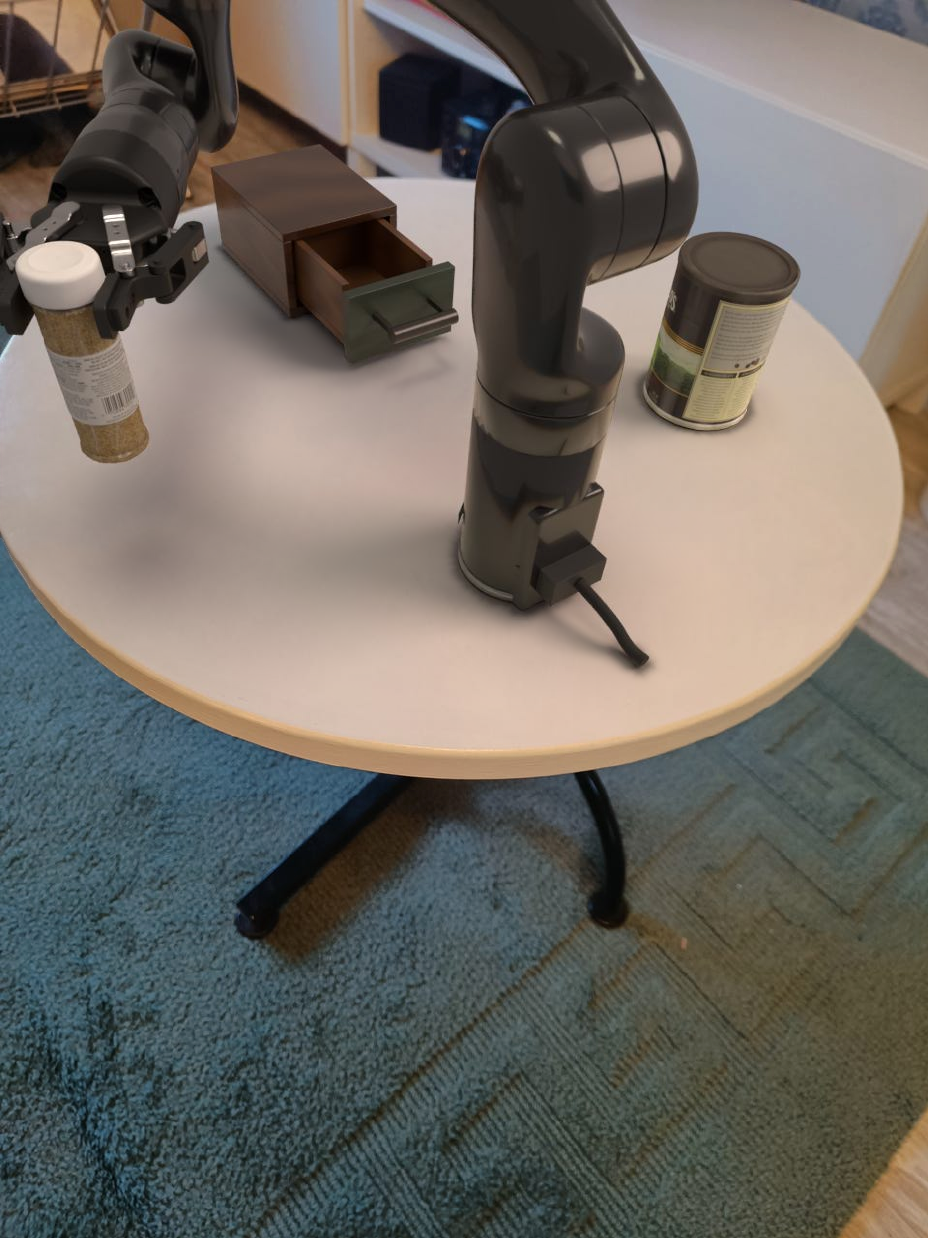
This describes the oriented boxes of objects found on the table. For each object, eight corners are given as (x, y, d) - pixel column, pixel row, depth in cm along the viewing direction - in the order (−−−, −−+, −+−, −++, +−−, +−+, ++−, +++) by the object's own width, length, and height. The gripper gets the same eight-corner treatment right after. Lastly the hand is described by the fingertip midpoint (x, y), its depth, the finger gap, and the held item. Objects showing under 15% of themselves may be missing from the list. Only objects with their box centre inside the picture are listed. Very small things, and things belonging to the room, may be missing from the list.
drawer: (475, 352, 85) (481, 287, 80) (374, 387, 80) (373, 321, 75) (375, 265, 94) (374, 201, 89) (279, 292, 90) (272, 226, 84)
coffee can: (627, 409, 82) (664, 269, 72) (660, 355, 89) (698, 219, 78) (732, 445, 80) (786, 305, 69) (759, 387, 86) (812, 251, 75)
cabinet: (396, 286, 94) (397, 204, 87) (290, 318, 88) (282, 233, 82) (324, 222, 101) (319, 143, 95) (222, 248, 96) (210, 166, 89)
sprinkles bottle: (132, 416, 61) (78, 229, 51) (162, 450, 59) (112, 263, 49) (69, 440, 59) (-1, 251, 49) (98, 476, 57) (32, 287, 47)
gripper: (-1, 120, 56) (-105, 253, 46) (222, 133, 57) (171, 266, 46) (36, 232, 62) (-49, 374, 51) (237, 242, 63) (196, 384, 52)
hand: (56, 322), depth 49 cm, fingers closed on sprinkles bottle, 4 cm apart
